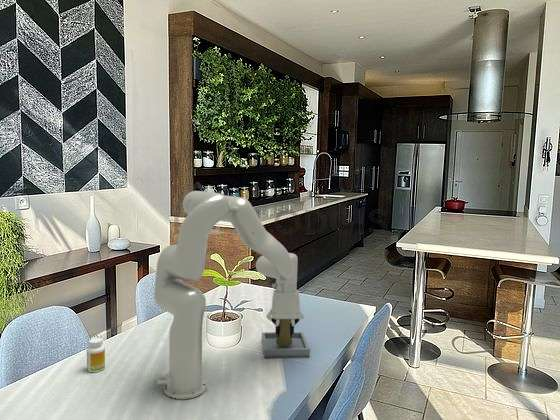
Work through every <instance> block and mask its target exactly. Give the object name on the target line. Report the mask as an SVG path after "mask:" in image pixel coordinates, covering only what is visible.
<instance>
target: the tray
mask: <svg viewBox="0 0 560 420" xmlns="http://www.w3.org/2000/svg"><path fill="white" fill-rule="evenodd" d="M276 339H277V334H276V333H275V331H274V332H272V331H271V332H268V331H267V332H266V331H265V332H264V331H263V332H261V344H262V351H263V357H264V358H263V359H291V358H292V359H293V358H294V359H298V358H306V359H307V358H310V355H311V354H310V349H311V348H310V346H309V345H308V342H307V339H306V336H305V334H304V332H303V331H294V334H292V344H291V345H289V346H281V345H278V344H277V343H276Z"/></svg>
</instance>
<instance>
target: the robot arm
mask: <svg viewBox="0 0 560 420" xmlns="http://www.w3.org/2000/svg"><path fill="white" fill-rule="evenodd" d="M182 208H183V210H184V212H185V213H186V217H184V220H183V221H182V222H181V225H180V226H179V227H180V228H179V232H178V238H177V243H176V244H170V245H168V246H166V247H165V248H163V250H162V251H161V252H160V254H159V256H158V259H157V263H156V270H155V271H156V273H155V281H154V289H153V290H154V295H153V297H154V301H155V304H156V306H158V307H159V308H160V309H161V310H162V311H164V312H168V313H170V314H172V315H173V319H172V323H171V325H170V327H169V335H168V338H169V339H168V342H169V344H168V347H169V349H168V350H169V353H168V354H169V357H168V358H169V359H168V360H169V362H168V363H169V366H168V367H169V369H168V373H165V374H155V375H153V377H154V378H153V381H154V382H156V385H157V386H159V385H160V386H161V385H163V392H164V394H165V395H166V396H168V397H169V398H171V397H172V399H175V398H176V399H177V400H188V399H193V398H196V397H199V396H201V395H202V394H203V393H205V391H206V390H207V387H208V383H207V381H206V380H205V379H204V378H203V376H202V375H203V373H202V372H203V369H202V368H203V367H202V366H203V323H204V316H205V311H206V305H207V301H206V297H205V294H204V293H203V292H202V291H201V290H200V289H199V288H197V287H196V286H193V285H192V284H191V285H190V284H188V283H185V282H184V281H186V282H196V281H198V280H200V279H201V278H202V277H203V274H204V272H205V267H206V266H205V265H206V259H207V258H206V257H207V248H208V241H209V240H208V239H209V236H210V233H211V231H212V229H213V228H214V226H215V225H217V224H218V223H219V222H220V221H222V222H228V223H230V224H231V225H232V227H233V228H234V229H235V231H236V233H237V234H238V236H239V238H240V239H241V241H242V242H243V244H244V245H245V246H246V247H248V248H249V249H250V250H252V251H253V252H255V253H257V254H259V255H261V256H259V257H258V258H257V260H256V262H255V268H256V271H257V272H258V274H260V275H262V276H265V277H268V278H272V279H276V280H275V283H272V285H271V288H274V290H273V295H272V298H271V299H272V300H271V308H270V310H269V311H268V313H267V314H266V319H268V320H269V321H270V322H272V323H273V324H274V326H275V331H274V332H275V333H276V334H278V337H279V333H280V326H279V322H280V321H279V319H291V323H290V324H291V326H290V334H291V337H292V334H294V332H295V326H296V325H297V324H298V323H299V322H300V321H302V320H303V319H304V318H305V315H304V314H303V312H302V310H301V303H300V302H301V301H300V292H299V290H298V289H297V288H298V287H297V286H298V285H297V283H298V263H299V261H298V259H299V258H298V256H297V254H295V253H293V252H288V250H287V249H286V247H285V246H284V245H283V244H282V243H281V242H280V241H278V240H277V238H275V237H274V236H273V235H272V234H271V233H270V232H268V230H266V228H265V226H264V224H263V223H262V221H261V219H260V218H259V216H258V214H257V212H256V211H255V209H254V207H253V205H252V203H251V202H250V201H249V200H248V199H246V198H245V197H241V196H231V195H224V194H222V193H219V192H213V191H212V192H211V191H203V190H202V191H201V190H193V191H190V192H188V193H186V195H185V196H184V198H183V202H182ZM176 399H175V400H176Z"/></svg>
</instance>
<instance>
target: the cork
mask: <svg viewBox="0 0 560 420" xmlns="http://www.w3.org/2000/svg"><path fill="white" fill-rule="evenodd" d="M279 321H280V322H279V326H280V333H279V337H278V334H277V339H276V343H277V344H278V345H281V346H289V345H291V344H292V337H291V334H290V326H291V324H290V323H291V319H279Z"/></svg>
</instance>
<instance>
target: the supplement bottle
mask: <svg viewBox="0 0 560 420" xmlns="http://www.w3.org/2000/svg"><path fill="white" fill-rule="evenodd" d="M88 345H89V346H88V347H87V348H86V370H87V372H88V373H100V372H102V371H103V370H104V369H106V368H105V367H106V350H105V348H106V347H105V345H104V344H103V339H102V338H100V337H94V338H90V339H89V341H88ZM101 370H102V371H101Z"/></svg>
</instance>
